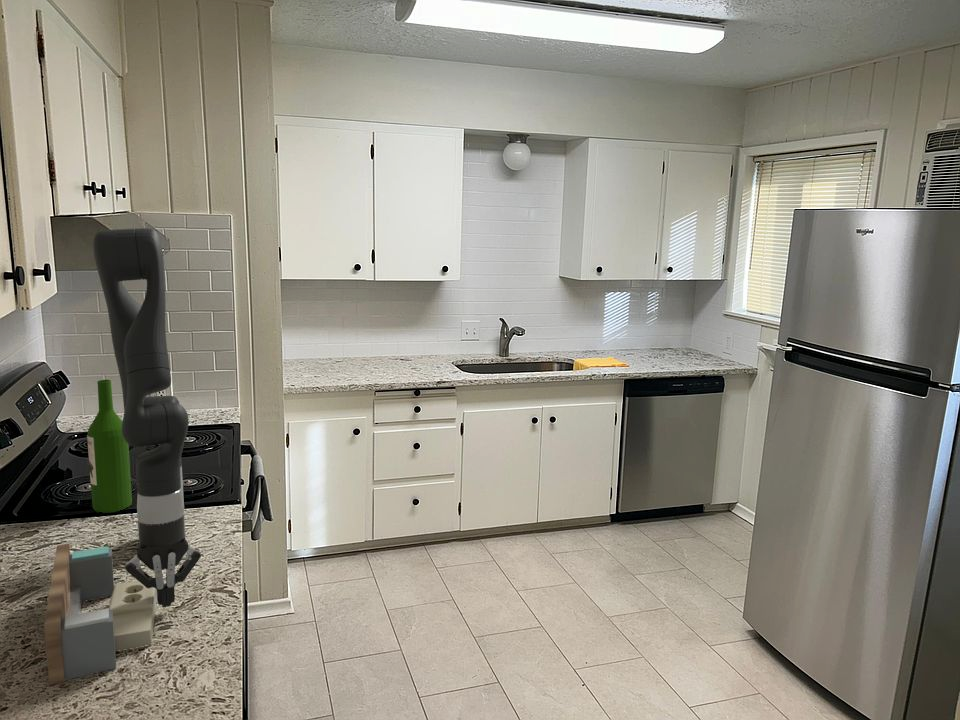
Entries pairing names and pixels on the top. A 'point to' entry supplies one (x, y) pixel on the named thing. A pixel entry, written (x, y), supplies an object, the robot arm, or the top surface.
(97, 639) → the block
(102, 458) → the wine bottle
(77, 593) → the metal rail
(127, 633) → the electrical outlet
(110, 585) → the module
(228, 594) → the top surface
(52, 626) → the mounting panel
